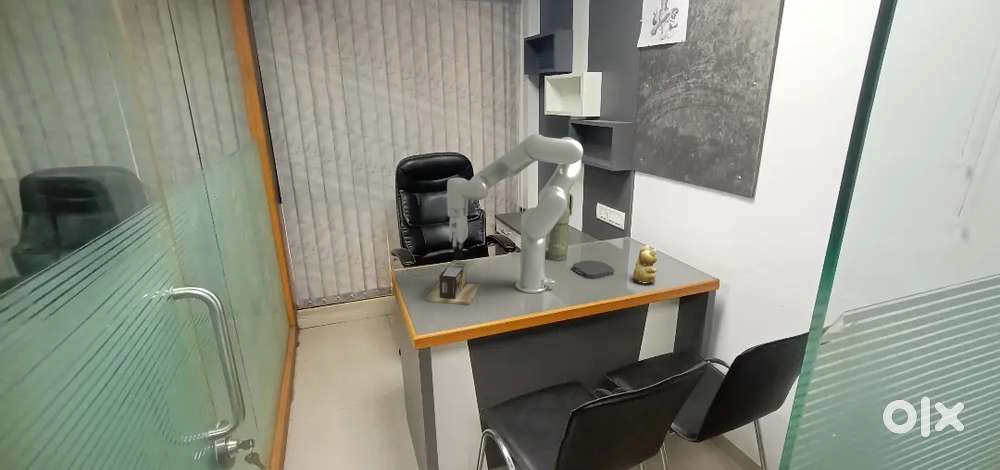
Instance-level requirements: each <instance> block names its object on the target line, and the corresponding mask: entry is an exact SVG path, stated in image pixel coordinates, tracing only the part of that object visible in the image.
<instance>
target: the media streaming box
mask: <svg viewBox="0 0 1000 470" xmlns="http://www.w3.org/2000/svg"><path fill="white" fill-rule="evenodd" d="M573 270H574V271H573ZM572 271H573V272H575V273H576V272H577V273H576V274H578V275H579V276H581V275H582V277H583V276H584V277H583V278H585V277H586V278H585V279H588V278H589V280H597V279H596V278H598V279H602V278H601V277H604V278H606V277H605V276H609V275H612V276H614V275H615V274H614V272H615V270H614V267H612V266H611V265H609V264H607V263H605V262H604V261H603V262H602V261H598V260H582V261H579V262H575V263H573V265H572ZM609 277H610V276H609Z"/></svg>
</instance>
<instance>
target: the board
mask: <svg viewBox="0 0 1000 470" xmlns="http://www.w3.org/2000/svg"><path fill="white" fill-rule="evenodd" d="M479 289H480V284H472V283H467V284H466V285H465V286H464V288H463V289H462V291H461V292H460V293H459V295H458V296H457V298H456V299H452V298H450V299H447V298H440V286H439V282H438V283H437V285H436V286H435V287H434V288H433V290H432V291H431V292H430V293H429V294H428V295H427V296H426V302H433V303H446V304H454V305H464V306H465V305H467V306H470V304H471V303H472V300H473V299H474V297H475V295H476V294H477V292H478V291H479Z"/></svg>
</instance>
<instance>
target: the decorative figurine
mask: <svg viewBox="0 0 1000 470" xmlns="http://www.w3.org/2000/svg"><path fill="white" fill-rule="evenodd" d="M657 252H658V250H657V248H654V249H651V250H650V246H649V245H647V244H646V245H645V246H643V247H641V248H640V251H639V254H638V257H637V260H636V263H635V268H634V270H633V278H634V280H635V281H637V280H638V281H641V282H652V283H655V281H656V278H657V274H656V272H657V271H658V269H657V268H656V267H654V264H655V263H656V262H657V261H658V255H657ZM638 281H637V282H638Z"/></svg>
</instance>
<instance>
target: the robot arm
mask: <svg viewBox="0 0 1000 470" xmlns="http://www.w3.org/2000/svg"><path fill="white" fill-rule="evenodd" d="M583 155H584V149H583V146H582V144H581V143H580V142H579V141H578V140H577V139H575V138H573V137H568V136H565V137H562V138H555V137H547V136H543V135H542V134H539V133H533V134H531V135H528V136H527V137H526V138H524V139H523V140H522V141H521V142H519V143H518V144H516V145H515V146H513V147H512V148H510V150H508V151H507V152H506V153H504V154H503V155H501V156H500V157H499V158H497V159H496V160H494V161H493V162H491V163H490V164H488V165H487V166H485V167H484V168H482V170H480V171H479V172H477V173H476V174H475V175H473V176H472V177H471V179H470V180H467V179H466V178H464V177H451V178H449V179H448V180H447V182H446V190H447V191H446V193H447V217H449V226H448V227H449V228H448V229H449V230H448V231H449V232H448V233H449V235H448V236H449V237H448V238H449V242H450V243H452V247H453V258H454V259H461V260H462V259H463V257H464V248H463V247H464V242H465V241H466V240H467V238H468V236H469V230H468V217H467V216H469V200H474V201H481V200H483V199H485V198H487V196H488V195H489V190H490V189H491V188H492V187H494V186H495V185H496V184H498V183H499V182H501V181H502V180H505V179H507V178H508V179H509V178H512V177H515V176H517V175H518V174H520V173H521V172H522V171H524V170H525V169H526V168H527V167H529V166H531V165H532V164H533V163H535V162H536V161H537V162H543V163H550V164H557V166H556V169H555V170H554V172H553V173H552V175H551V177H550V178H549V180H548V181H547V182H546V184H545V185H544V186H543V188H542V189H541V190H540V192H539V194H538V199H537V200H538V204H537V205H536V206H535V207H530V208H527V209H526V210H525V211H524V212H523V213H522V215H521V219H520V254H519V255H520V260H519V262H520V263H519V279H518V280H517V281H516V282H515V288H516V289H517V290H518V291H521V292H523V293H529V294H537V293H542V292H545V291H546V290H548V286H553V287H554V286H556V280H554V278H547V277H546V274H545V268H546V267H545V266H546V265H545V264H546V262H545V261H546V246H547V245H546V244H547V242H546V241H547V236H548V235H550V231H551V230H552V229H553V227H554V226H555V225H556V223H557V222H558V221H559V219H560V218H561V216H562V215H563V213H564V212H565V210H566V207H567V198H566V196H567V194H568V193H569V191H570V192H571V190H572V188H573V187H574V185H575V183H576V182H577V180H578V178H579V177H580V173H581V169H582V157H583Z"/></svg>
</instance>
